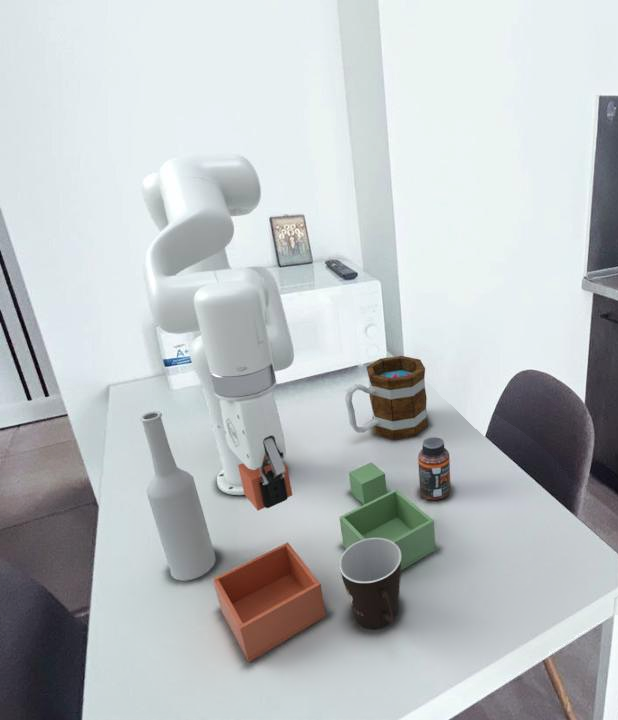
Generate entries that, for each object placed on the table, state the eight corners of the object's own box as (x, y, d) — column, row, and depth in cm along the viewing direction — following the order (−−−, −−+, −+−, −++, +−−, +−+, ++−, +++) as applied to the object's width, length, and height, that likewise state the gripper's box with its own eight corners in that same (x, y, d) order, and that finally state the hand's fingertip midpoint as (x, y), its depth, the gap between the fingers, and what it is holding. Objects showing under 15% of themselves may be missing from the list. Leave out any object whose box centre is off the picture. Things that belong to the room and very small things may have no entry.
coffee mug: (350, 590, 84) (343, 539, 80) (406, 586, 84) (402, 535, 80) (339, 658, 73) (330, 603, 69) (403, 653, 74) (398, 598, 70)
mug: (408, 405, 138) (404, 351, 132) (440, 426, 128) (437, 368, 122) (337, 432, 126) (329, 374, 120) (366, 457, 117) (360, 395, 111)
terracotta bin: (221, 610, 80) (212, 578, 78) (293, 572, 87) (287, 541, 85) (248, 662, 73) (240, 628, 70) (326, 616, 79) (320, 583, 77)
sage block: (351, 493, 106) (348, 472, 104) (373, 483, 109) (371, 462, 107) (364, 506, 102) (361, 484, 100) (387, 494, 105) (385, 473, 103)
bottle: (217, 546, 93) (179, 401, 81) (214, 574, 87) (173, 422, 76) (173, 556, 91) (128, 409, 79) (168, 585, 85) (118, 431, 74)
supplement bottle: (446, 503, 103) (444, 452, 98) (416, 499, 104) (412, 449, 99) (454, 484, 108) (452, 435, 103) (425, 481, 109) (422, 432, 104)
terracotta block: (244, 494, 78) (237, 465, 76) (278, 480, 81) (272, 451, 79) (257, 511, 74) (251, 480, 72) (292, 495, 77) (287, 465, 75)
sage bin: (343, 546, 92) (339, 516, 90) (398, 517, 99) (396, 488, 97) (378, 584, 85) (374, 553, 82) (435, 550, 91) (434, 520, 89)
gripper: (193, 367, 74) (220, 478, 81) (238, 410, 62) (265, 536, 69) (248, 352, 79) (269, 459, 86) (300, 390, 67) (320, 510, 74)
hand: (267, 492), depth 77 cm, fingers closed on terracotta block, 5 cm apart
